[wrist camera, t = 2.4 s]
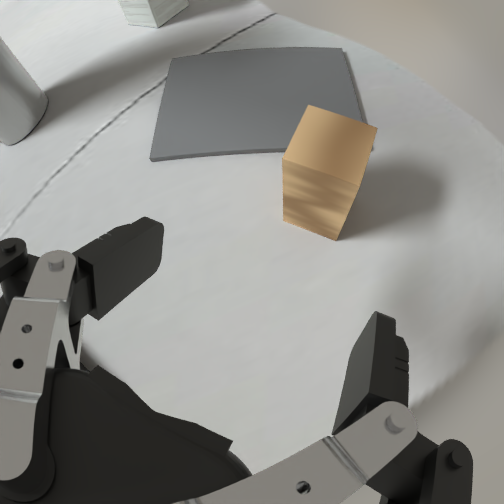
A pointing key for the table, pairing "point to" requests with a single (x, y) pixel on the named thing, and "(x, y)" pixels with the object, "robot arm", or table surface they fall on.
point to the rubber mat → (247, 100)
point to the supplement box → (151, 11)
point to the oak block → (324, 170)
